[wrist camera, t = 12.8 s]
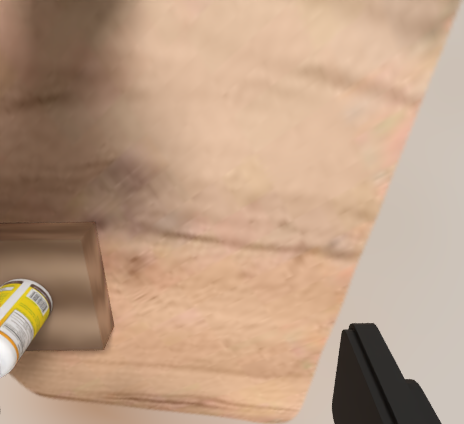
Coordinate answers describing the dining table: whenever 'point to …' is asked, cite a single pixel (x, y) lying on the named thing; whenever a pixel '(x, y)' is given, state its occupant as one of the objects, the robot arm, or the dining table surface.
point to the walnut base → (61, 281)
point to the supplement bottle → (20, 318)
